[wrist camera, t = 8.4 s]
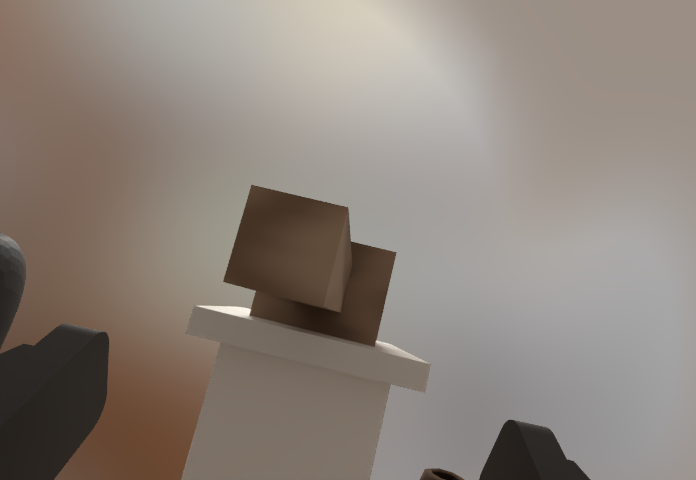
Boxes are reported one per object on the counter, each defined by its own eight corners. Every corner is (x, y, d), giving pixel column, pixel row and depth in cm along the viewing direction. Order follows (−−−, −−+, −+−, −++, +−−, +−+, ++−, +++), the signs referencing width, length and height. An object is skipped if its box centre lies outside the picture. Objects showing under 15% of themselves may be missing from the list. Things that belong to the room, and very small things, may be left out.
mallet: (125, 311, 13) (187, 121, 14) (273, 315, 35) (292, 244, 36) (397, 381, 12) (441, 179, 13) (370, 340, 35) (387, 266, 36)
